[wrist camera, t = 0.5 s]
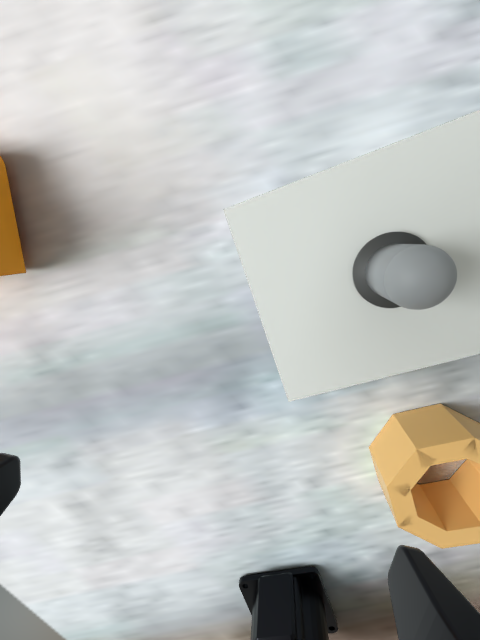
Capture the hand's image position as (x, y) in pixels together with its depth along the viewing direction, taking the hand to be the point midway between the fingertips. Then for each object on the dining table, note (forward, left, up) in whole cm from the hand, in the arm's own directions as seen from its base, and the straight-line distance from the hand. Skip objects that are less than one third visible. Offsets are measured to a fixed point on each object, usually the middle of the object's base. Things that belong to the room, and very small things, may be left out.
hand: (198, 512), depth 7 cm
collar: (-11, -9, -13) cm, 20 cm away
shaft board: (+2, -9, -13) cm, 16 cm away
